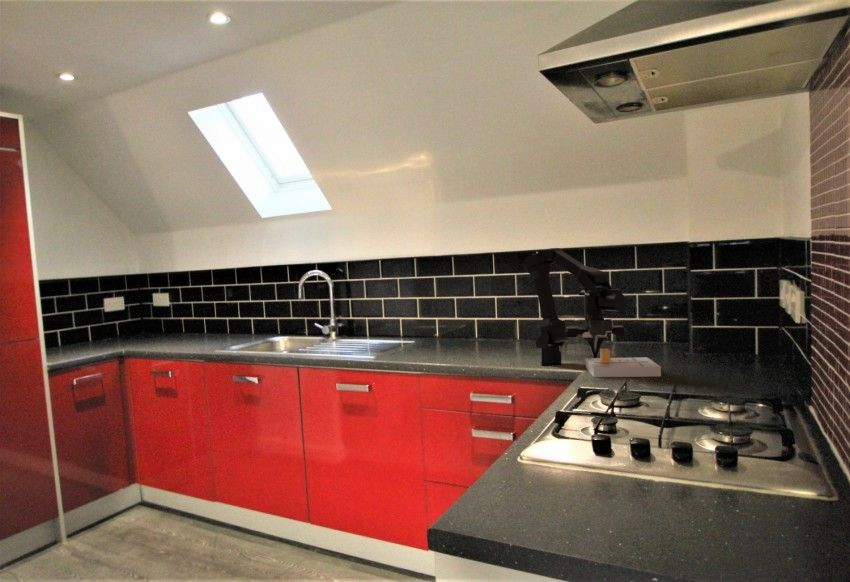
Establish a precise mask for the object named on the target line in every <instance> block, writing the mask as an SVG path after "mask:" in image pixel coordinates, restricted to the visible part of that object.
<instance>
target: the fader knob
mask: <svg viewBox="0 0 850 582" xmlns="http://www.w3.org/2000/svg"><path fill="white" fill-rule="evenodd" d="M599 355H600V356H599V357H600V361H601V362H602V363H610V358H611V350H610V349H609V348H600V349H599Z"/></svg>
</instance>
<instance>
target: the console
mask: <svg viewBox="0 0 850 582" xmlns="http://www.w3.org/2000/svg"><path fill="white" fill-rule="evenodd" d="M584 359H585V369H587V371H588V372H589V374H590V375H591V376H592V377H593V378H629V377H631V378H633V377H634V378H638V377H648V378H649V377H662V366H661V365H659V364H658V363H656V362H654V361H653V360H652V359H650V358H649V357H647V356H643V357H610V363H602V362H601V361H600V358H599V357H597V358H593V357H591V358H588V357H587V358H584Z"/></svg>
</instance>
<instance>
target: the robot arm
mask: <svg viewBox="0 0 850 582" xmlns="http://www.w3.org/2000/svg"><path fill="white" fill-rule="evenodd" d="M553 264H556V265H558V266H559V267H560V268H562V269H564V270H565V271H566V272H568V273H570V274H571V275H572V276H573V277H574V278H575V279H576V281H577V283H578V284H579V285H580V286H581V287H582V288H583V289H582V290H581V291H580V292H578V295H579V296H583V297H584V299H583V301H584V328H578V327H577V326H566V322H565V320H561V319H560V318H559V316H558V315H557V311H556V309H557V308H556V305H555V302H554V296H553V292H552V287H551V281H550V279H549V276H550V273H551V270H552V266H551V265H553ZM525 267H526V270H527V273H528V274H529V275H530V277H531V278H532V279H533V281H534V284H535V290H536V294H537V298H538V302H539V308H540V312H541V317H542V321H541V325H540V335H539V337H538V338H537V339H536V340H535V346H536V348H537V349H540V361H539V362H540V365H541V366H542V367H553V366H552V365H560V366H561V364H562V351H561V350H560V347H563V346H564V344H565V342H566V341H565V340H566V338H577V337H578V336H579V335H580V336H581V335H582V336H581V339H583V340H585V341H586V342H587V343H586V344H588V347H589V349H590V352H591V354H592V358H598V355H599V353H600V349H601V345H602V344H603V342H604V341H605V340H608V335H614V336H616V337H626V336H627V329H626V328H625V327H624V326H623V325H617V324H616V325H613V320H612V319H611V318H610V319H609V318H608V319H607V318H606V319H605V318H604V311H610V312H623V310H624V309H625V307H626V305H627V300H626V297H625V295H624V294H623V293H622V289H621V288H616V289H613V287H612V286H611V284H610V282H609V281H608V279H607V278H606V274H605V272H604V271H602V270H600V269H597V268H595V267H591V266H587V265H584V264H583V263H582V262H580V261H578V259H575V258H574V257H572V256H571V255H569V254H568V253H566V252H564V250H562V248H559V247H555V248H548V249H546V250H544V251H541V252H540V251H539V252H537V253H531V254H529V255H528V256H527V257H526V259H525Z"/></svg>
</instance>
